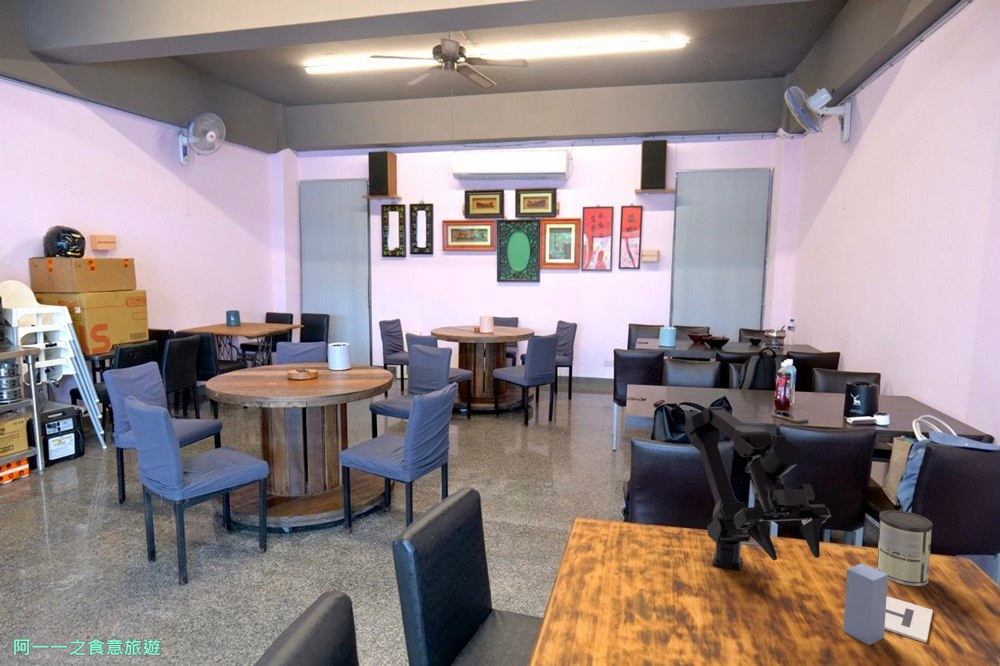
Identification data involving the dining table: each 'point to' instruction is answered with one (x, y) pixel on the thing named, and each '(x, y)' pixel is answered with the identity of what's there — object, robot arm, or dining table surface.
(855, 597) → the slate blue block
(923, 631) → the letter tile
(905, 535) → the coffee can
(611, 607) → the dining table surface
